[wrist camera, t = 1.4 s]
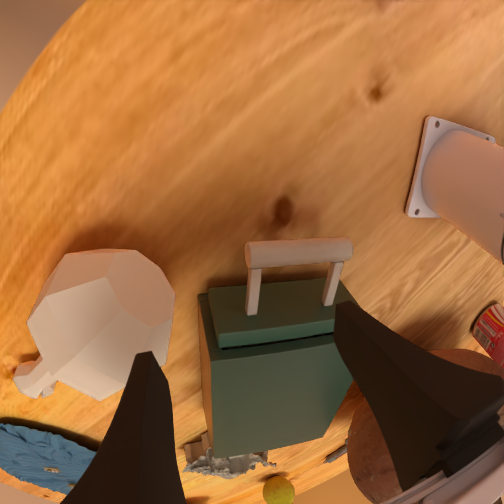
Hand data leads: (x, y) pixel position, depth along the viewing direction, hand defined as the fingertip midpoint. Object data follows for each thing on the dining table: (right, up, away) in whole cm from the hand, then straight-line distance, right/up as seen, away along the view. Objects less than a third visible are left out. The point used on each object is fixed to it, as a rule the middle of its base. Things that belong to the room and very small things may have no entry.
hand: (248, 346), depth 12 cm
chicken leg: (-13, -1, +9) cm, 15 cm away
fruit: (+4, -37, +35) cm, 51 cm away
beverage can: (+34, -6, +25) cm, 42 cm away
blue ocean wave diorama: (-28, -28, +21) cm, 45 cm away
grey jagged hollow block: (-3, -21, +24) cm, 32 cm away
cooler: (+1, -5, +15) cm, 16 cm away
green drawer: (+2, -2, +12) cm, 13 cm away
